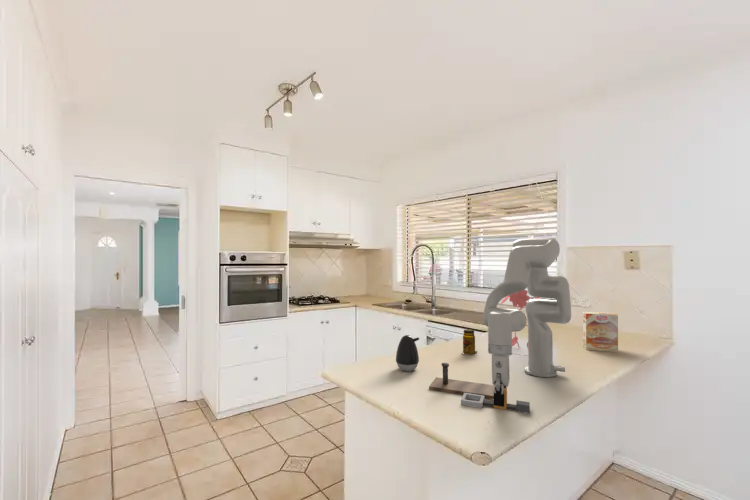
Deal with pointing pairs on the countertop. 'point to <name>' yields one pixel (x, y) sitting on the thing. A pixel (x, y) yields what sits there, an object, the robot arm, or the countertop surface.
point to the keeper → (460, 385)
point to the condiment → (469, 342)
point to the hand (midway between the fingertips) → (500, 400)
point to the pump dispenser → (407, 353)
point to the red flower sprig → (521, 300)
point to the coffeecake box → (600, 331)
